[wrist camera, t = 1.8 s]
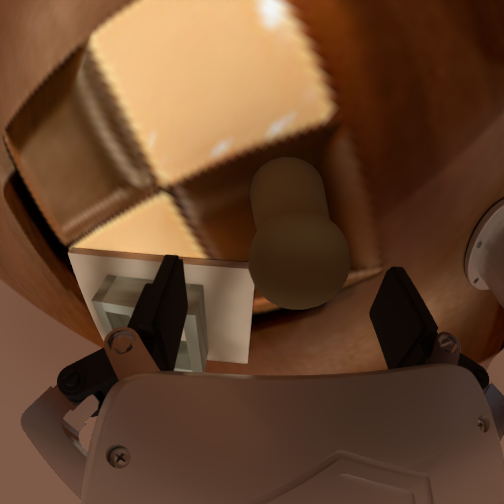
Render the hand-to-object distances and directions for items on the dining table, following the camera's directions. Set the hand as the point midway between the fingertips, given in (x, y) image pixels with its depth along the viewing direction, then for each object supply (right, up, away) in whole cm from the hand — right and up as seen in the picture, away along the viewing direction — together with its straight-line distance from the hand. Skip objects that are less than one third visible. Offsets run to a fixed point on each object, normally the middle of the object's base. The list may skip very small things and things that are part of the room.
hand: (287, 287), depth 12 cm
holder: (-12, -5, +18) cm, 22 cm away
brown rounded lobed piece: (+1, +6, +10) cm, 12 cm away
